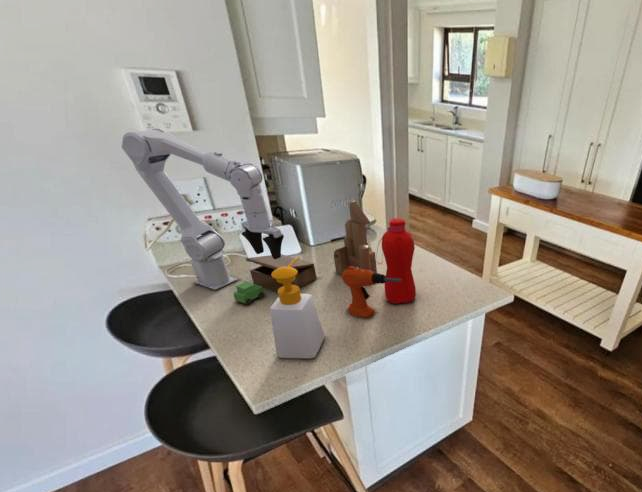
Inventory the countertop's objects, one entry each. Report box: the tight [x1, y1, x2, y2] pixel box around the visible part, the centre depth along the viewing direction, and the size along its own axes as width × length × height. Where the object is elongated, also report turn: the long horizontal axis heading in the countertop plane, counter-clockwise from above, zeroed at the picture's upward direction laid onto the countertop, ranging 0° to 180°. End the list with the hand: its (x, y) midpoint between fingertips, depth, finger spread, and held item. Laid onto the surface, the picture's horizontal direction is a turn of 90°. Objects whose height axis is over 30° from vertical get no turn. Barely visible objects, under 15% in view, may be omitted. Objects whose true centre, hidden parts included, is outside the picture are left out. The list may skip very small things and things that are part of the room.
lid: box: [245, 253, 315, 269], centre depth 116 cm, size 13×15×1 cm
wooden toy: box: [333, 200, 378, 276], centre depth 119 cm, size 16×7×25 cm, turn 57°
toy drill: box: [341, 266, 402, 319], centre depth 101 cm, size 5×19×15 cm, turn 71°
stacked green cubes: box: [233, 281, 265, 306], centre depth 108 cm, size 7×4×5 cm, turn 155°
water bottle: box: [376, 217, 417, 304], centre depth 108 cm, size 9×11×25 cm
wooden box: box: [249, 265, 317, 293], centre depth 119 cm, size 13×15×5 cm
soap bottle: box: [269, 256, 326, 359], centre depth 88 cm, size 10×14×22 cm
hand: (268, 255), depth 111 cm, fingers open, 7 cm apart
